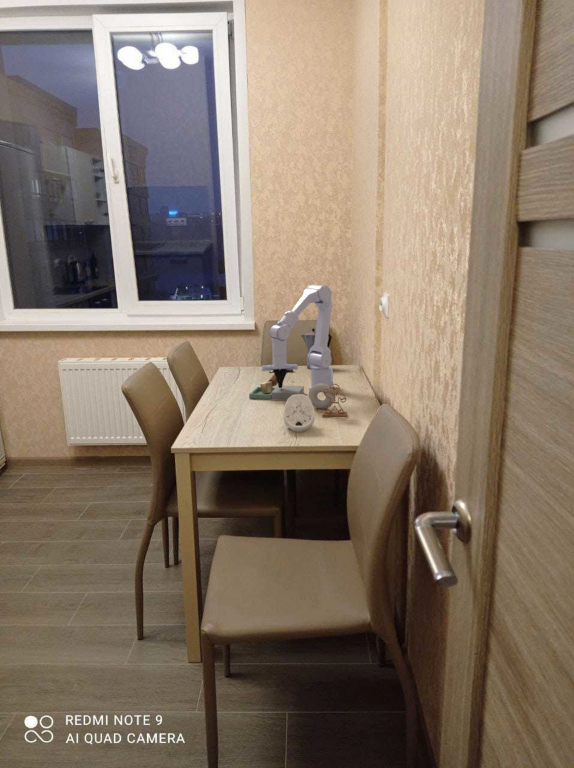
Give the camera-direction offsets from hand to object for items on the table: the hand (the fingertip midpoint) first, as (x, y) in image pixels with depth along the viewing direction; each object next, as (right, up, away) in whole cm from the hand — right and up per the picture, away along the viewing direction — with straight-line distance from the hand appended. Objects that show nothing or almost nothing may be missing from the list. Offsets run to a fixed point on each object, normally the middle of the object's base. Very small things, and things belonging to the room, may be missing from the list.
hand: (280, 387), depth 230 cm
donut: (+16, -8, -18) cm, 26 cm away
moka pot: (+18, +9, +53) cm, 56 cm away
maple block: (-4, 0, +3) cm, 5 cm away
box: (-7, -3, +2) cm, 8 cm away
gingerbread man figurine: (+20, -10, -27) cm, 35 cm away
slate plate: (+3, -4, 0) cm, 5 cm away
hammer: (-3, +4, +33) cm, 34 cm away
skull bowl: (+7, -14, -39) cm, 42 cm away
